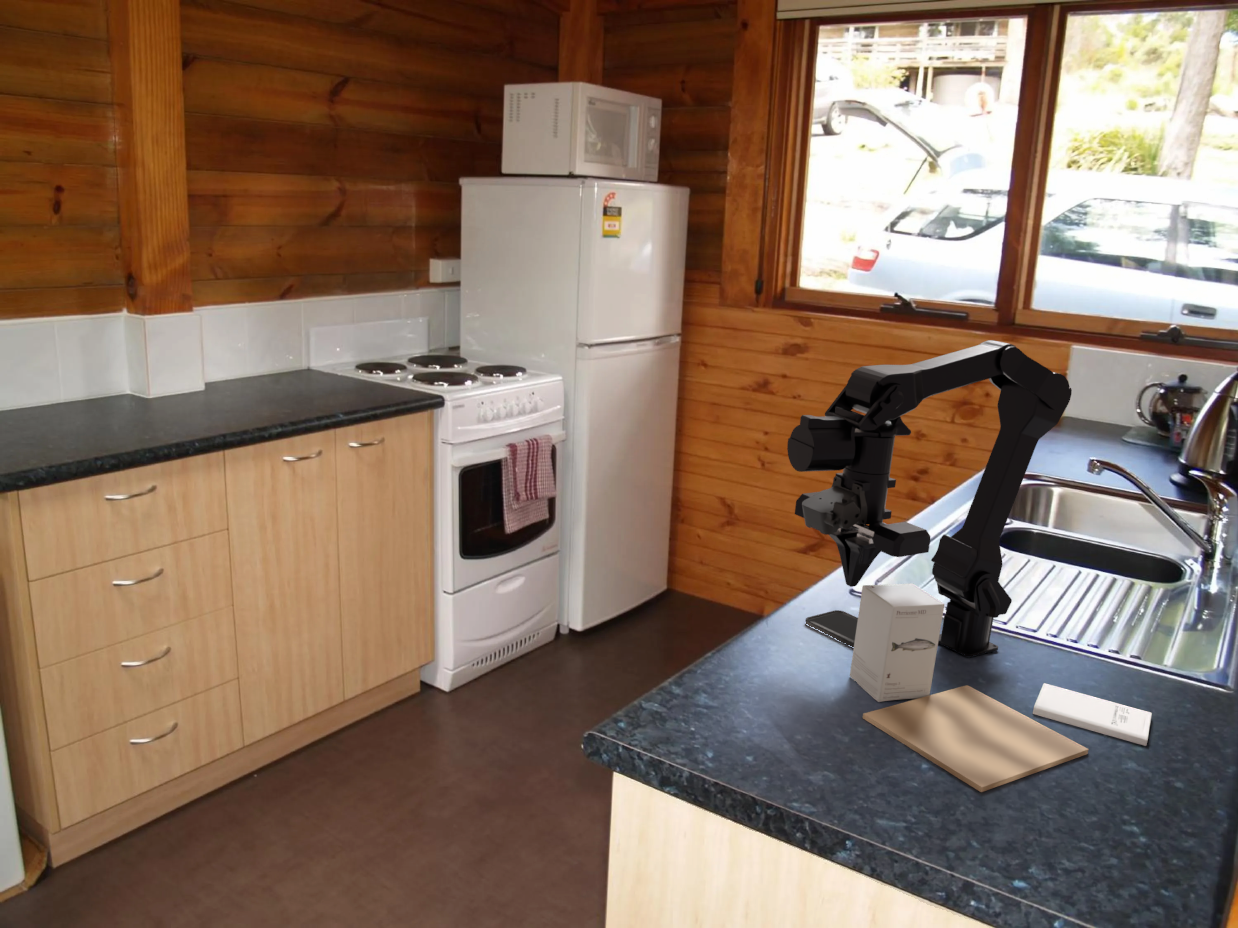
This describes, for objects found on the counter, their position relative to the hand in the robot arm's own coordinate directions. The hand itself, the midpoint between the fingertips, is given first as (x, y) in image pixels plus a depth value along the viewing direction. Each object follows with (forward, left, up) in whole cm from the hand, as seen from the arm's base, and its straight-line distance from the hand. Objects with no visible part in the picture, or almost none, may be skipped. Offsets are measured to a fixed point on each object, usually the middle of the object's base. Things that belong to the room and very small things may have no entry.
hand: (851, 585), depth 131 cm
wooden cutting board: (0, +21, -10) cm, 24 cm away
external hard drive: (-18, +24, -11) cm, 32 cm away
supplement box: (0, +8, -11) cm, 14 cm away
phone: (-8, -5, -11) cm, 14 cm away
